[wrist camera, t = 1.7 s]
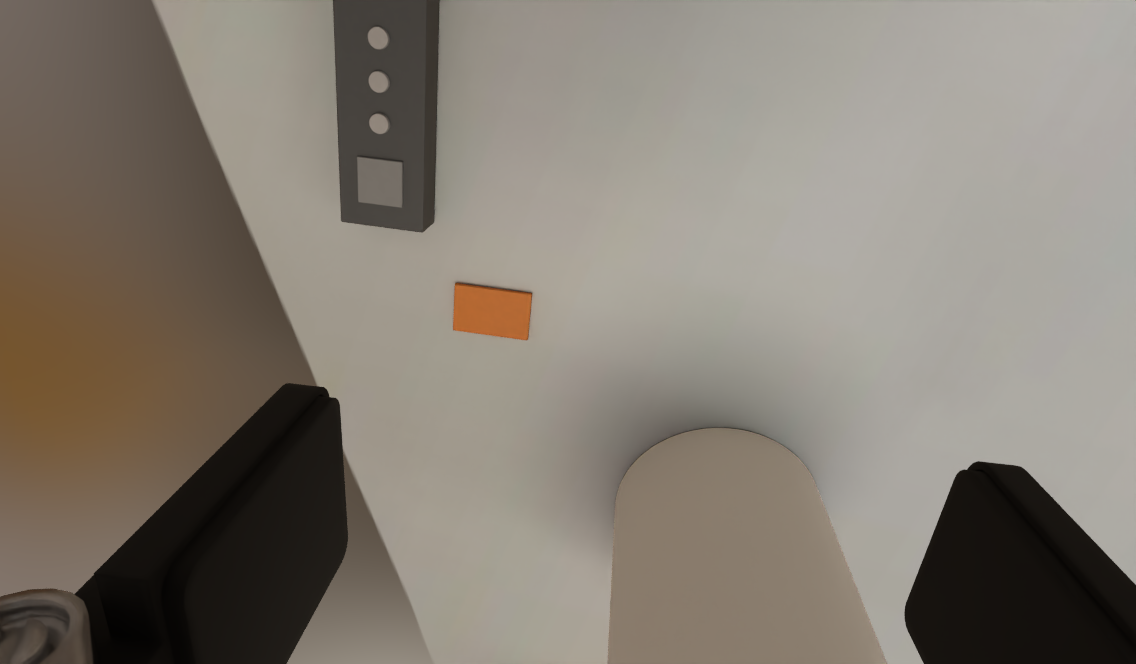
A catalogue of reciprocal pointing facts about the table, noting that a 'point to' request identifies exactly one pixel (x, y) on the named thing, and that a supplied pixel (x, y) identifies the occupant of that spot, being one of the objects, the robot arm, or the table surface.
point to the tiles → (492, 311)
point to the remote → (387, 110)
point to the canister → (730, 560)
